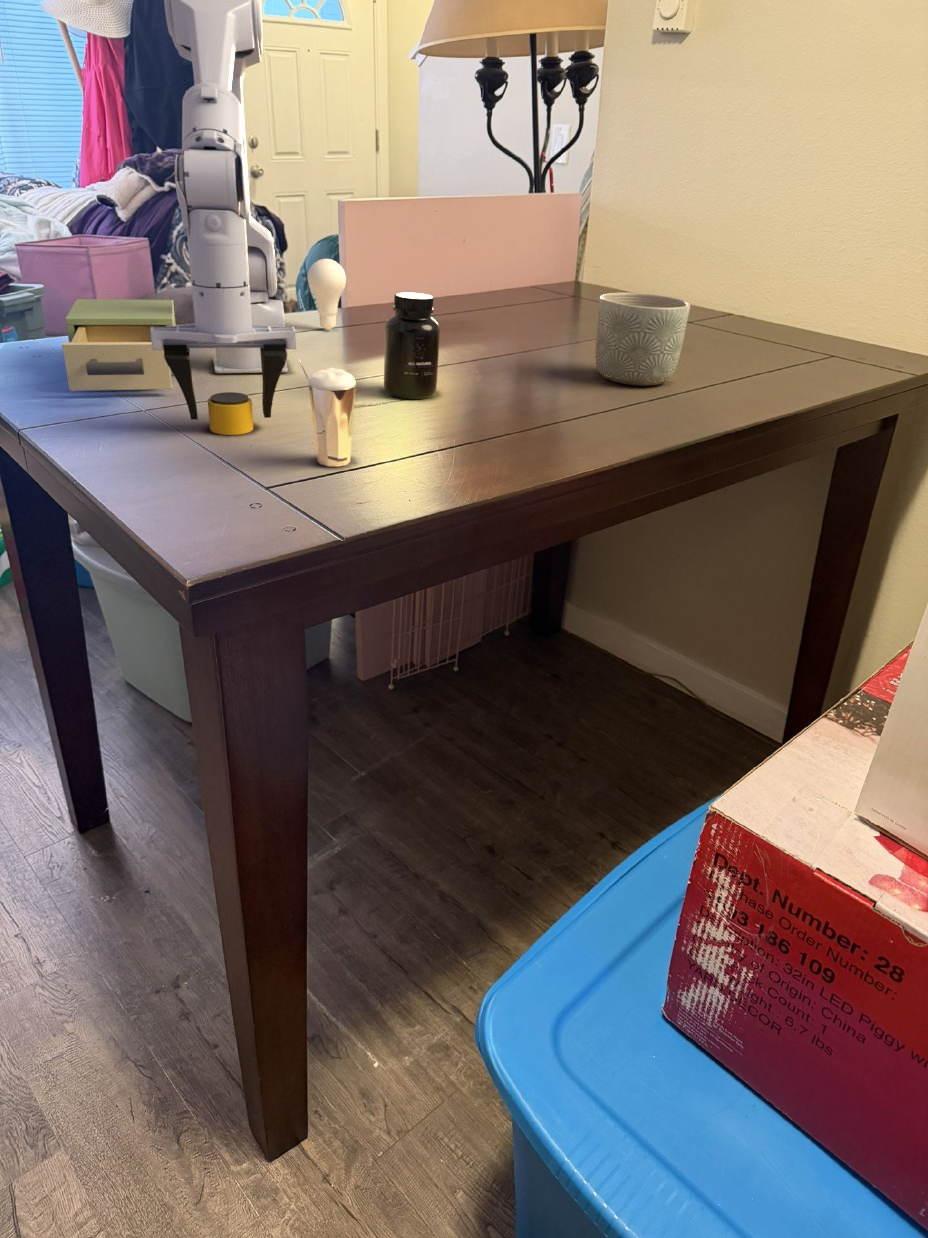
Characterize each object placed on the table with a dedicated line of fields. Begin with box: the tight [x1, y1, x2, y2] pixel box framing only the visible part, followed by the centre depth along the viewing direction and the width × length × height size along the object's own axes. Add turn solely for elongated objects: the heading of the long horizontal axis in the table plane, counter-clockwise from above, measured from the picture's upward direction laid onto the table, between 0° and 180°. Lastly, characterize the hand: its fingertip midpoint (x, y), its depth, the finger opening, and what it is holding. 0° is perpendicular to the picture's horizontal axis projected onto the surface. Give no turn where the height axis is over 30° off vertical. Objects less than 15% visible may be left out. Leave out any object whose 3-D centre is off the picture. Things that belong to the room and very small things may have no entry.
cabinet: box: [64, 298, 177, 376], centre depth 116 cm, size 14×13×7 cm
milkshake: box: [298, 359, 357, 468], centre depth 85 cm, size 4×5×10 cm
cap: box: [207, 391, 254, 436], centre depth 94 cm, size 5×5×4 cm
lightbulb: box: [307, 258, 347, 331], centre depth 142 cm, size 6×6×11 cm
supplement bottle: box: [383, 292, 441, 400], centre depth 109 cm, size 7×7×12 cm
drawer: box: [61, 325, 173, 392], centre depth 105 cm, size 17×11×5 cm
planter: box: [595, 292, 691, 387], centre depth 123 cm, size 12×12×11 cm
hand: (230, 416), depth 95 cm, fingers open, 7 cm apart
